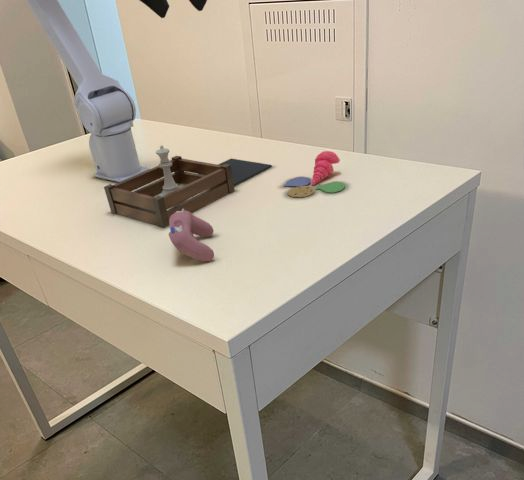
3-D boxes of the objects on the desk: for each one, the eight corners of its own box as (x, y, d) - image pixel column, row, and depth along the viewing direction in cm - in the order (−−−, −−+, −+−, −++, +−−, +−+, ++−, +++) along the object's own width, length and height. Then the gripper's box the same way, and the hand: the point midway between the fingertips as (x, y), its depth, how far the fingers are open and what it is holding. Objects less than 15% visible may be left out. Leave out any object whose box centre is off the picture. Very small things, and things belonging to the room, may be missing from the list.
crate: (111, 212, 98) (103, 186, 95) (181, 179, 108) (176, 155, 105) (164, 228, 90) (157, 199, 87) (234, 190, 100) (231, 164, 97)
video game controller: (192, 245, 87) (164, 211, 83) (216, 230, 86) (188, 194, 82) (191, 275, 79) (160, 238, 75) (217, 258, 78) (186, 220, 74)
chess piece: (163, 198, 101) (151, 142, 95) (187, 196, 100) (176, 140, 95) (159, 207, 97) (146, 150, 91) (183, 205, 97) (171, 147, 91)
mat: (193, 178, 108) (193, 176, 108) (231, 160, 114) (231, 158, 114) (234, 186, 102) (234, 184, 102) (271, 166, 108) (271, 164, 108)
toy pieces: (289, 173, 104) (287, 150, 101) (348, 171, 101) (348, 147, 99) (277, 198, 94) (275, 173, 92) (342, 196, 92) (342, 170, 89)
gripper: (96, -94, 73) (156, -9, 74) (176, -96, 82) (230, -20, 82) (84, -46, 79) (140, 32, 79) (160, -53, 87) (210, 18, 88)
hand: (184, 8), depth 81 cm, fingers open, 7 cm apart
